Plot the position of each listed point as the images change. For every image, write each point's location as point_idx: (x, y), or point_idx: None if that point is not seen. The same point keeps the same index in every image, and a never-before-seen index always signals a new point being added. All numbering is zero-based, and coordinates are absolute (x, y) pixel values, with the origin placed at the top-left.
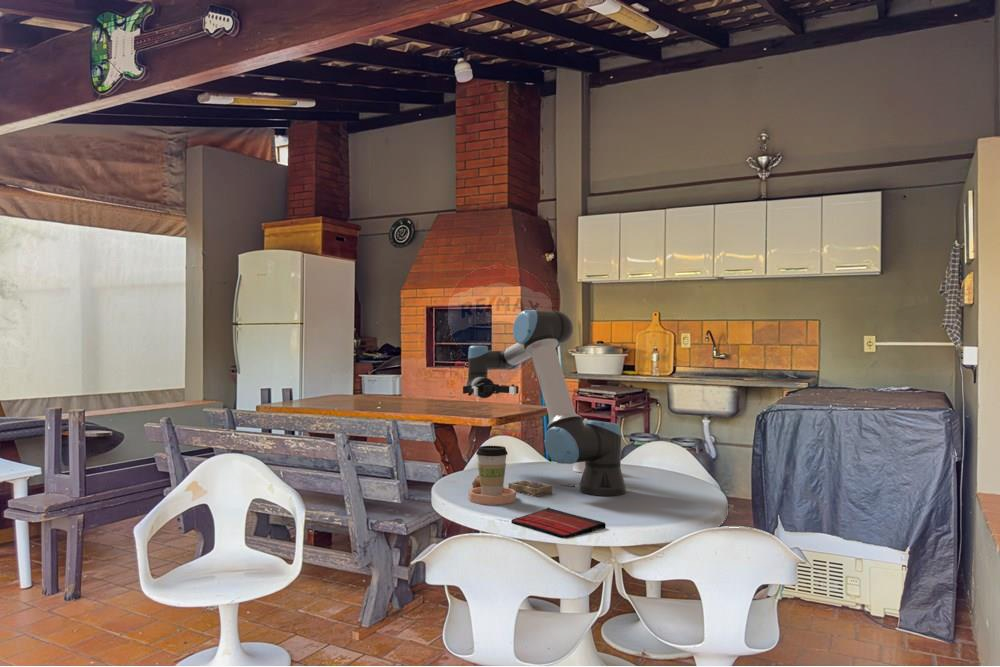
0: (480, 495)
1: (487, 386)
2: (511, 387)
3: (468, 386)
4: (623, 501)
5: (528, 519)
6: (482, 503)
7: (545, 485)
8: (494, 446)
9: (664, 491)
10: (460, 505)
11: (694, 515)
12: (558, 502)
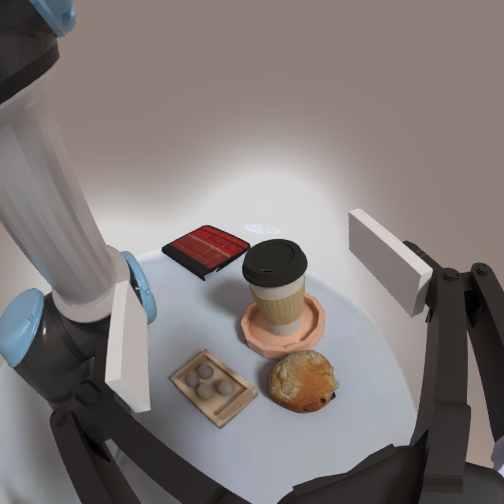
0: None
1: (356, 467)
2: (126, 328)
3: (492, 322)
4: None
5: (231, 246)
6: None
7: (180, 382)
8: (269, 269)
9: (23, 396)
10: (325, 287)
11: None
12: (179, 329)
